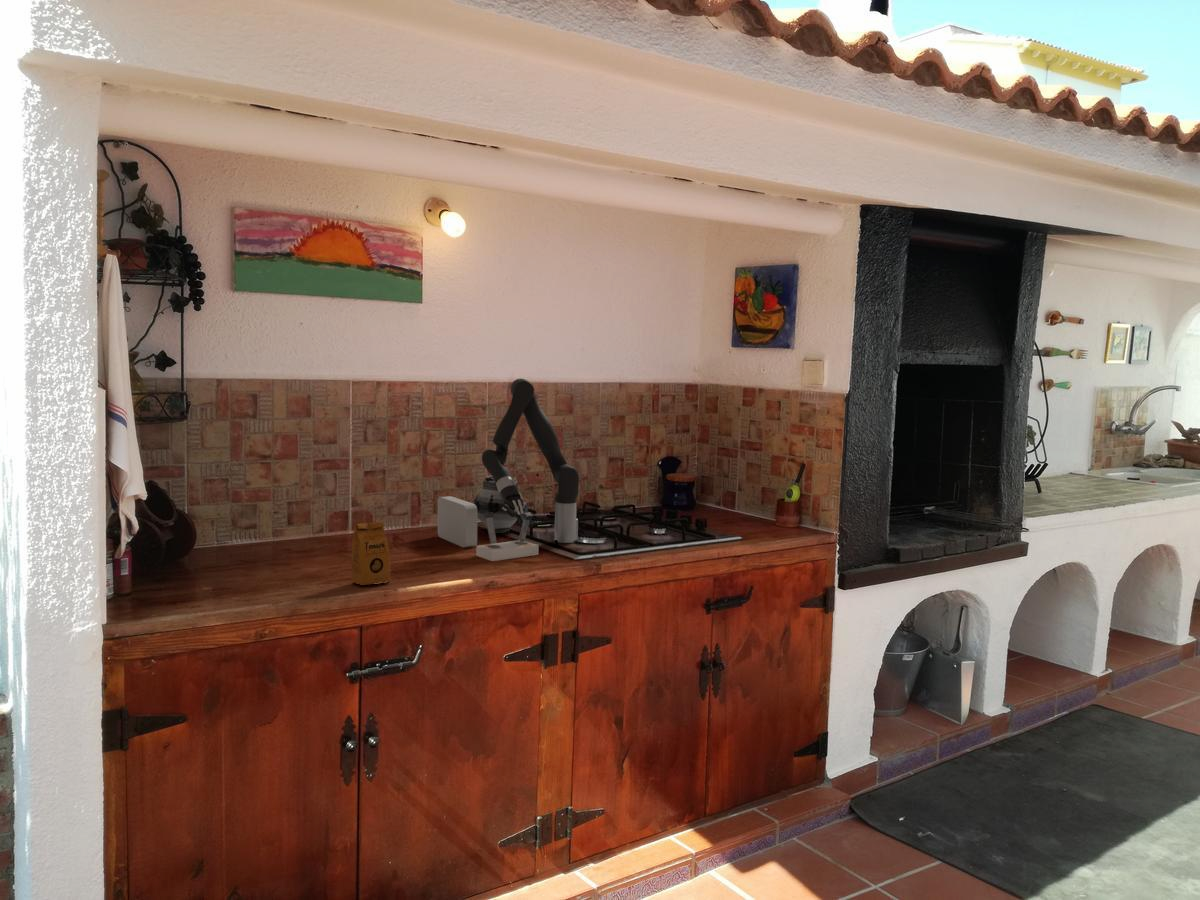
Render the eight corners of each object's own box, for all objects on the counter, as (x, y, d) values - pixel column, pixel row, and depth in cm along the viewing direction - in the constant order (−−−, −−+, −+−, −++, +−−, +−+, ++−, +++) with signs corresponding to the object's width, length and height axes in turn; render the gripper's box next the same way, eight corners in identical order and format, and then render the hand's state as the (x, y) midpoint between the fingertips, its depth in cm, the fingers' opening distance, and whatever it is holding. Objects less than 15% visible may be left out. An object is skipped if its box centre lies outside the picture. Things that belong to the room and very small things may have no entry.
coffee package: (393, 584, 339) (393, 523, 336) (358, 589, 332) (358, 526, 330) (383, 578, 347) (382, 518, 345) (349, 582, 340) (348, 521, 338)
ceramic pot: (461, 527, 445) (462, 474, 442) (505, 523, 458) (505, 471, 455) (491, 538, 421) (492, 482, 419) (536, 533, 434) (537, 479, 432)
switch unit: (522, 549, 401) (522, 538, 401) (538, 554, 392) (538, 543, 391) (476, 555, 388) (476, 544, 387) (492, 561, 378) (492, 550, 378)
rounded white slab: (482, 546, 405) (482, 504, 403) (465, 548, 400) (465, 505, 398) (453, 535, 428) (453, 494, 426) (437, 536, 424) (437, 496, 422)
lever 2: (522, 538, 395) (529, 512, 390) (526, 541, 393) (533, 515, 388) (516, 538, 393) (523, 512, 388) (519, 542, 391) (526, 516, 386)
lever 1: (495, 543, 387) (489, 513, 389) (498, 542, 385) (493, 511, 387) (488, 544, 385) (483, 513, 387) (492, 543, 383) (486, 512, 385)
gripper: (497, 485, 392) (513, 520, 384) (524, 483, 401) (541, 517, 392) (490, 496, 397) (506, 530, 389) (517, 494, 405) (533, 527, 397)
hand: (523, 523), depth 391 cm, fingers closed
